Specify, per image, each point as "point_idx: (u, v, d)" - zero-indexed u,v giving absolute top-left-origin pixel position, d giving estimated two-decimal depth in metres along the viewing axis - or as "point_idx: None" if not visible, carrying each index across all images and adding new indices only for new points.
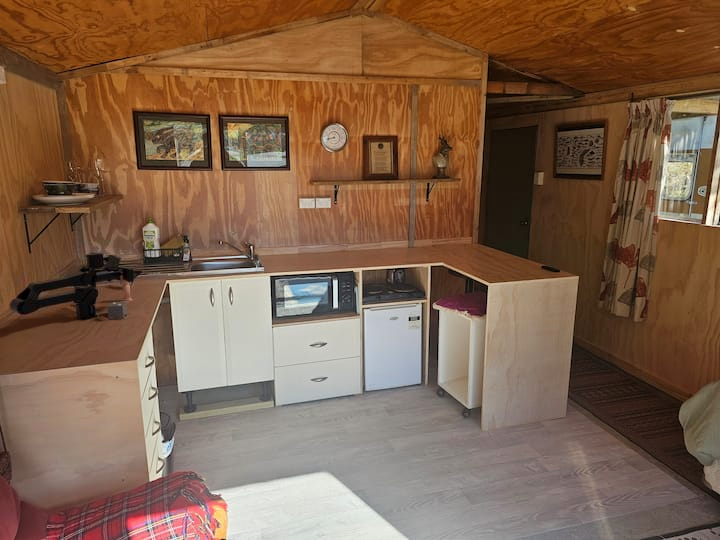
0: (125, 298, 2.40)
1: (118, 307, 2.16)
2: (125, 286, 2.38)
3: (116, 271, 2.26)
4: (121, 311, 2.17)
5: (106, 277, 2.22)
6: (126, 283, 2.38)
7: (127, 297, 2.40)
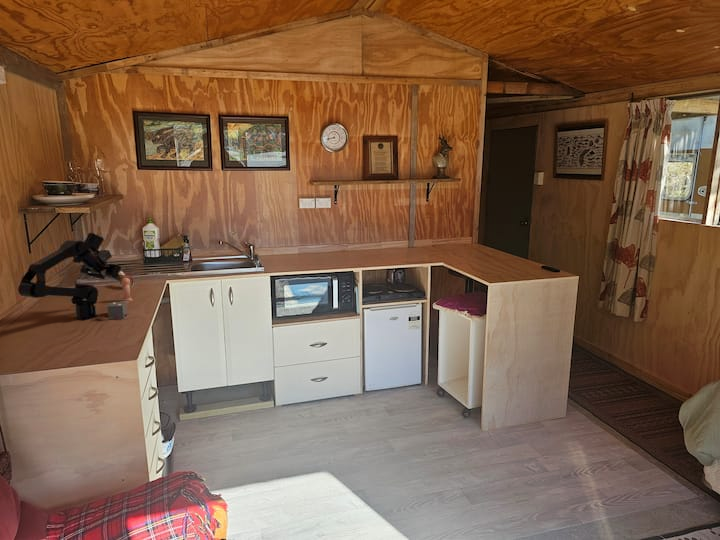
0: (125, 298, 2.40)
1: (118, 307, 2.16)
2: (125, 286, 2.38)
3: (102, 263, 2.22)
4: (121, 311, 2.17)
5: (93, 261, 2.17)
6: (126, 283, 2.38)
7: (127, 297, 2.40)
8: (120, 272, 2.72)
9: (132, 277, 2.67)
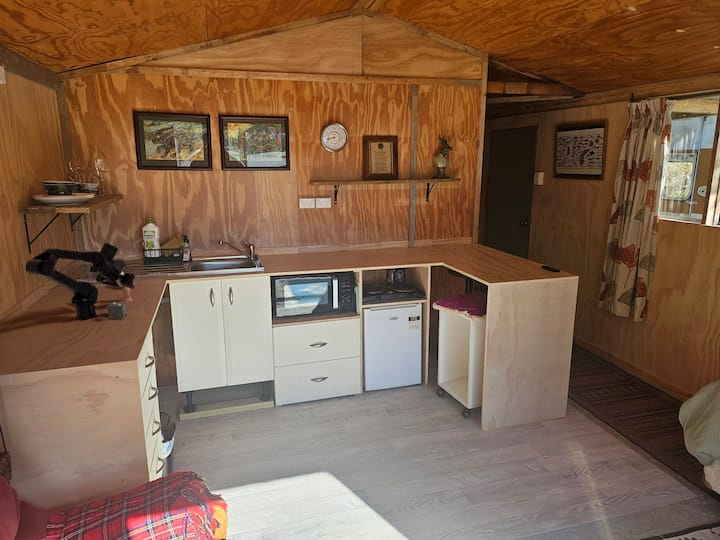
0: (125, 298, 2.40)
1: (118, 307, 2.16)
2: None
3: (117, 272, 2.31)
4: (121, 311, 2.17)
5: (109, 270, 2.26)
6: None
7: (127, 297, 2.40)
8: None
9: None
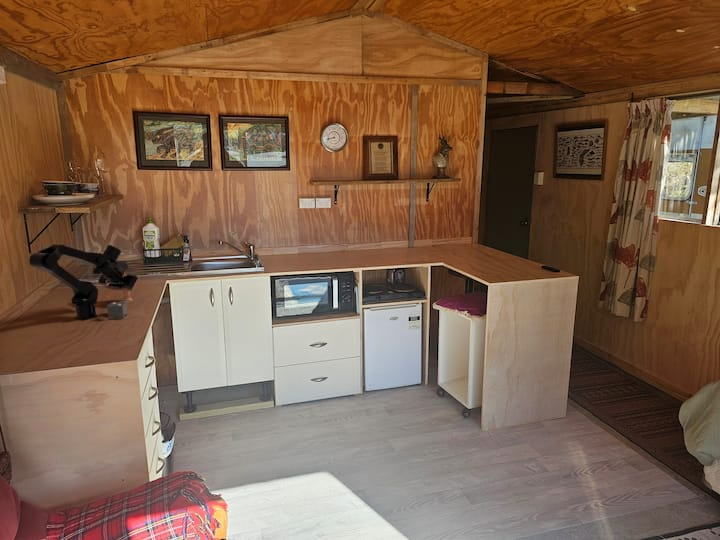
0: (125, 298, 2.40)
1: (118, 307, 2.16)
2: None
3: (120, 274, 2.33)
4: (121, 311, 2.17)
5: (111, 272, 2.28)
6: None
7: (127, 297, 2.40)
8: None
9: None
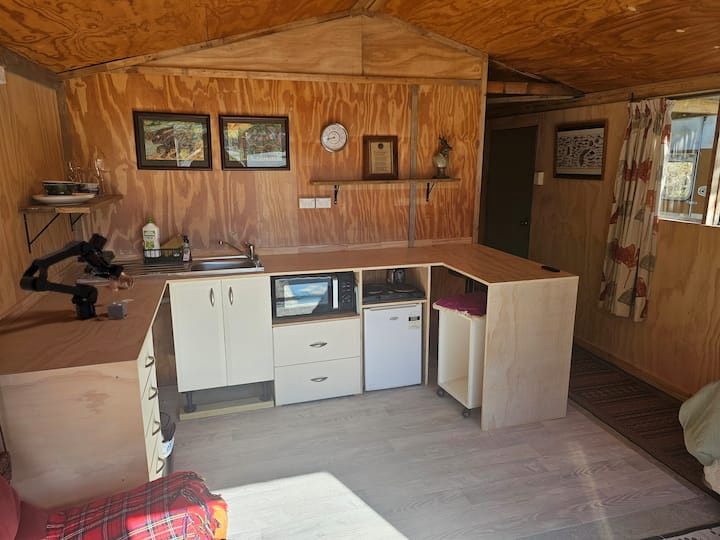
0: (111, 289, 2.31)
1: (118, 307, 2.16)
2: None
3: (106, 264, 2.24)
4: (121, 311, 2.17)
5: (97, 261, 2.19)
6: None
7: (113, 288, 2.31)
8: None
9: (132, 277, 2.67)
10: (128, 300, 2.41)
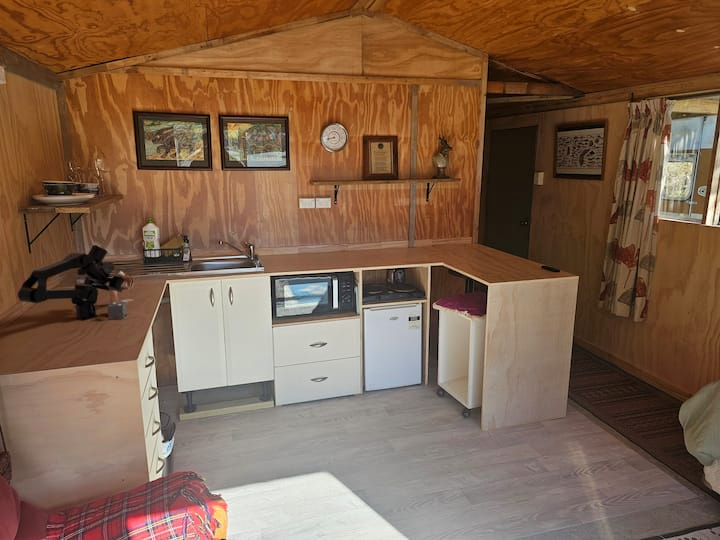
0: (112, 302, 2.32)
1: (118, 307, 2.16)
2: None
3: (106, 275, 2.25)
4: (121, 311, 2.17)
5: (97, 273, 2.20)
6: None
7: (114, 301, 2.32)
8: (120, 272, 2.72)
9: (132, 277, 2.67)
10: (128, 300, 2.41)
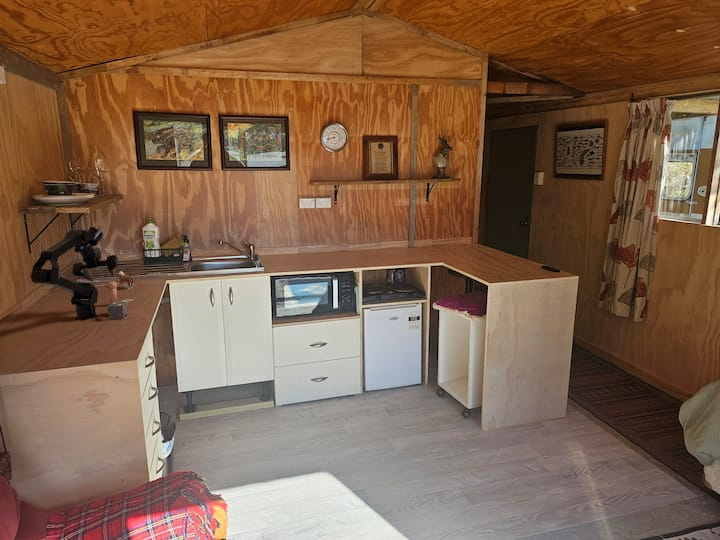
0: (112, 302, 2.32)
1: (118, 307, 2.16)
2: (112, 290, 2.31)
3: (98, 257, 2.24)
4: (121, 311, 2.17)
5: (93, 253, 2.18)
6: (113, 287, 2.31)
7: (114, 301, 2.32)
8: (120, 272, 2.72)
9: (132, 277, 2.67)
10: (128, 300, 2.41)
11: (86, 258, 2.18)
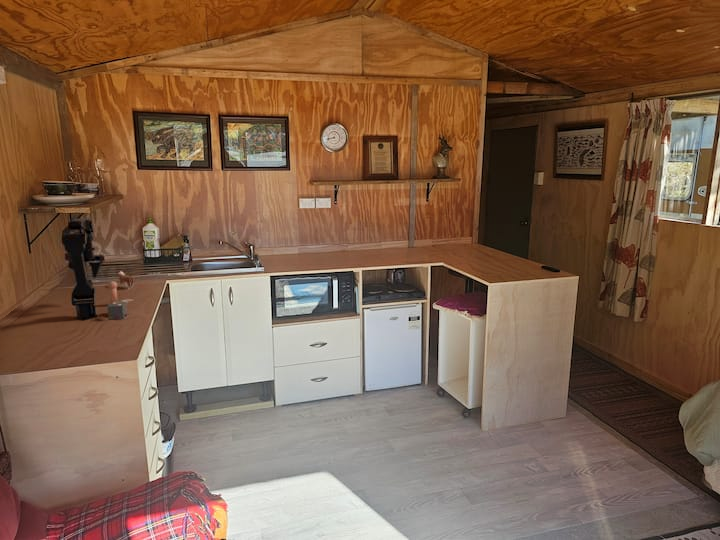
0: (112, 302, 2.32)
1: (118, 307, 2.16)
2: (112, 290, 2.31)
3: None
4: (121, 311, 2.17)
5: (91, 245, 2.29)
6: (113, 287, 2.31)
7: (114, 301, 2.32)
8: (120, 272, 2.72)
9: (132, 277, 2.67)
10: (128, 300, 2.41)
11: (90, 247, 2.28)
